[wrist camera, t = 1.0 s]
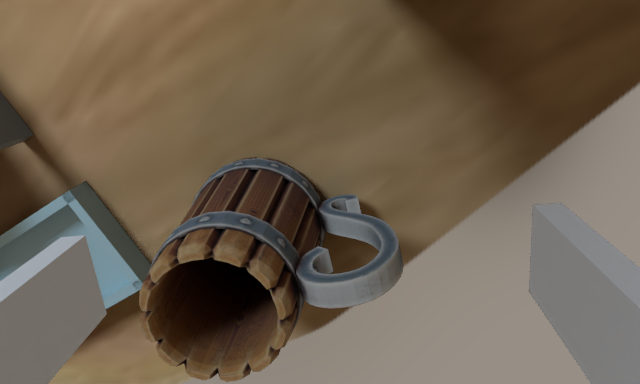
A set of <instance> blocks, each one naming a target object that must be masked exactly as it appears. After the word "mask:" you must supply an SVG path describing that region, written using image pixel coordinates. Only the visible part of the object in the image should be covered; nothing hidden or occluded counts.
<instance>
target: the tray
mask: <svg viewBox="0 0 640 384" xmlns="http://www.w3.org/2000/svg"><path fill="white" fill-rule="evenodd" d="M83 235H85V236H86V240H87V243H88V247H89V251H90V254H91V258H92V262H93V265H94V269H95V272H96V276H97V280H98V283H99V287H100V291H101V294H102V298H103V302H104V305H105V309H107V308H109V307H111V306H113V305H114V304H116V303H118V302H120V301H121V300H123V299H125V298H127V297H128V296H130V295H132V294H134V293H135V292H137V291H139V290H141V287H142V285H143V282H144V280H145V278H146V277H147V275H148V272H149V270H150V267H151V264H150V263H149V261H148V260H147V259H146V258H145V256H144V255H143V254H142V252H141V251H140V250H139V249H138V247H137V246H136V245H135V243H134V242H133V241H132V240H131V238H130V237H129V236H128V234H127V233H126V232H125V231H124V229H123V228H122V227H121V225H120V224H119V223H118V222H117V220H116V219H115V218H114V217H113V215H112V214H111V213H110V211H109V210H108V209H107V208H106V206H105V205H104V204H103V202H102V201H101V200H100V199H99V197H98V196H97V195H96V193H95V192H94V191H93V190H92V188H91V187H90V186H89V184H88V183H87V182H86V181H85V182H83V183H82V184H80V185H78V186H76V187H74V188H73V189H71V190H69V191H67V192H66V193H64V194H63V195H61V196H60V197H58V198H57V199H55V200H54V201H52V202H51V203H49V204H48V205H46V206H45V207H43V208H42V209H40V210H39V211H37V212H36V213H34V214H33V215H31V216H29V217H28V218H26V219H25V220H23V221H22V222H20V223H19V224H17V225H16V226H14V227H13V228H11V229H10V230H8V231H7V232H5V233H4V234H2V235H1V236H0V281H2V280H3V279H4V278H6V277H7V276H8V275H10V274H11V273H13V272H14V271H15V270H17V269H18V268H19V267H21V266H22V265H24V264H25V263H26V262H28V261H29V260H30V259H32V258H33V257H35V256H36V255H37V254H39V253H40V252H41V251H43V250H44V249H46V248H47V247H48V246H50V245H51V244H52V243H54V242H55V241H57V240H58V239H59V238H61V237H69V236H83Z"/></svg>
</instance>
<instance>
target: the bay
mask: <svg viewBox="0 0 640 384" xmlns="http://www.w3.org/2000/svg"><path fill="white" fill-rule="evenodd" d="M32 135H33V132H32V131H31V130H30V129H29V127H28V126H27V125H26V124H25V122H24V121H23V120H22V118H21V117H20V116H19V115H18V113H17V112H16V111H15V110H14V108H13V107H12V106H11V104H10V103H9V102H8V101H7V99H6V98H5V97H4V96H3V94H2V93H1V92H0V149H3V148H6V147H9V146H12V145H15V144H18V143H21V142H24V141H25V140H26V139H28V138H29V137H31V136H32Z"/></svg>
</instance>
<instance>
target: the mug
mask: <svg viewBox="0 0 640 384" xmlns="http://www.w3.org/2000/svg"><path fill="white" fill-rule="evenodd" d="M325 231H327V232H329V233H331V234H335V235H339V236H344V237H348V238H353V239H357V240H360V241H363V242H366V243H369V244H371V245H373V246H374V247H375V248H377V249H378V251H379V253H378V255H377V256H376V257H375V258H374V259H373V260H372V261H371V262H369V263H368V264H366V265H365V266H363V267H361V268H359V269H356V270H353V271H349V272H344V273H338V274H330V273H332V272H334V271H333V267H332V263H331V259H330V255H329V251H328V249H325V248H322V244H323V240H324V234H325ZM402 272H403V261H402V256H401V251H400V246H399V241H398V238H397V235H396V234H395V232H394V231H393V229H392V228H391V227H390V226H389V225H388V224H387V223H386V222H384V221H383V220H381V219H378V218H376V217H373V216H369V215H365V214H361V210H360V205H359V201H358V197H357V196H356V195H351V194H348V195H340V196H335V197H332V198H330V199H327V200H325V201H323V202H321V199H320V196H319V195H318V194H317V192H316V191H315V190H314V186H313V185H312V183H311V182H310V181H309V180H308V179H307V178H306V177H305V176H304V175H303V174H302V173H301V172H300V171H298V170H294V169H292V168H290V166H289V165H288V164H286V163H283V162H281V161H279V160H275V159H270V158H265V159H260V158H256V157H253V158H245V159H241V160H238V161H235V162H233V163H231V164H228V165H225V166H224V167H222V168H221V169H219V170H218V171H217V172H215V173H214V174H213V175H211V176H210V178H209V179H208V180H207V181H206V183H205V184H204V185H203V187H202V188H201V189H200V191H199V192H198V194H197V195H196V197H195V199H194V202H193V204H192V207H191V209H190V210H189V212H188V213H187V215H186V216H185V218H184V219H183V221H182V222H181V224H180V225H179V227H178V228H176V229H175V230H174V231H173V232H172V234H171V235H170V236H169V237H168V239H167V240H166V241H165V243H164V244H163V245H162V247H161V248H160V250H159V251H158V253H157V254H156V256H155V257H154V259H153V262H152V264H151V267H150V270H149V272H148V275H147V277H146V278H145V280H144V282H143V285H142V287H141V290H140V297H139V306H140V308H141V310H142V311H143V312H142V313H141V315H140V316H141V327H142V330H143V333H144V335H145V337H146V339H148V340H149V341H151V342H154V341H158V343H157V347H156V348H157V351H158V354H159V357H161V358H162V359H163V360H164V361H165V362H166V363H167V364H169V365H170V366H176V367H177V366H179V365H181V364H183V363H184V364H185V369H186V372H187V373H188V374H189V376H191V377H194V378H197V379H201V380H207V379H210V378H212V377H213V376H215V375H216V374H217V373H218V374H219V377H220V379H221V380H224V381H226V382H229V381H236V380H241V379H242V378H244V377H246V376H247V375H249V374H250V371H251V369H252V371H253V372H257V371H261V370H263V369H264V368H265V367H267V366H268V365H269V364H271V363H272V361H273V360H274V359H275V358H276V357H277V356H278V355H279V352H280V349H281V348H282V347H284V346H285V345H286V343H287V341H288V339H289V337H290V335H291V333H292V331H293V329H294V327H295V325H296V323H297V321H298V319H299V316H300V313H301V310H302V307H303V304H304V300H305V301H306V302H308V303H309V304H310V305H313V306H316V307H320V308H345V307H350V306H356V305H360V304H363V303H366V302H369V301H372V300H374V299H376V298H378V297H380V296H382V295H383V294H385V293H386V292H387V291H389V290H390V289H391V288H392V287H393V286H394V285H395V284H396V283H397V281H398V280H399V278H400V277H401V274H402Z"/></svg>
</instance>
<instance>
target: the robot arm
mask: <svg viewBox="0 0 640 384" xmlns="http://www.w3.org/2000/svg"><path fill="white" fill-rule="evenodd" d="M531 235H532V236H531V256H530V280H529V292H530V294H531V295H532V297H533V298H534V300H535V301H536V303H537V304H538V306H539V307H540V309H541V310H542V312H543V313H544V315H545V316H546V317H547V319H548V320H549V322H550V323H551V325H552V326H553V328H554V329H555V331H556V332H557V334H558V335H559V337H560V338H561V339H562V341H563V343H564V344H565V346H566V347H567V348H568V350H569V351H570V353H571V354H572V356H573V357H574V359H575V360H576V362H577V363H578V365H579V366H580V367H581V369H582V371H583V372H584V374H585V375H586V376H587V378H588V379H589V381H590V383H591V384H640V268H639V267H638V266H637V265H636V264H634V263H633V262H632V261H631V260H630V259H628V258H627V257H626V256H625V255H623V254H622V253H621V252H620V251H619V250H618V249H616V248H615V247H614V246H613V245H612V244H610V243H609V242H608V241H607V240H606V239H604V238H603V237H602V236H601V235H600V234H598V233H597V232H596V231H595V230H593V229H592V228H591V227H590V226H589V225H587V224H586V223H585V222H584V221H583V220H581V219H580V218H579V217H578V216H577V215H576V214H574V213H573V212H572V211H571V210H569V209H568V208H567V207H566V206H565V205H563V204H562V203H550V204H535V205H533V212H532V234H531ZM106 315H107V313H106V309H105V305H104V302H103V298H102V294H101V291H100V287H99V283H98V280H97V276H96V272H95V269H94V265H93V262H92V258H91V254H90V251H89V247H88V243H87V240H86V236H85V235H83V236H69V237H61V238H59V239H58V240H57V241H55V242H54V243H52V244H51V245H50V246H48V247H47V248H46V249H44V250H43V251H41V252H40V253H39V254H37V255H36V256H35V257H33V258H32V259H30V260H29V261H28V262H26V263H25V264H24V265H22V266H21V267H19V268H18V269H17V270H15V271H14V272H13V273H11V274H10V275H8V276H7V277H6V278H4V279H3V280H2V281H0V384H48V383H49V382H50V381H51V379H52V378H53V377H54V376H55V375H56V374H57V372H58V371H59V370H60V369H61V368H62V366H63V365H64V364H65V363H66V362H67V361H68V359H69V358H70V357H71V356H72V355H73V353H74V352H75V351H76V350H77V349H78V348H79V346H80V345H81V344H82V343H83V342H84V340H85V339H86V338H87V337H88V336H89V335H90V333H91V332H92V331H93V330H94V329H95V327H96V326H97V325H98V324H99V323H100V322H101V320H102V319H103V318H104V317H105V316H106Z"/></svg>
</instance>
